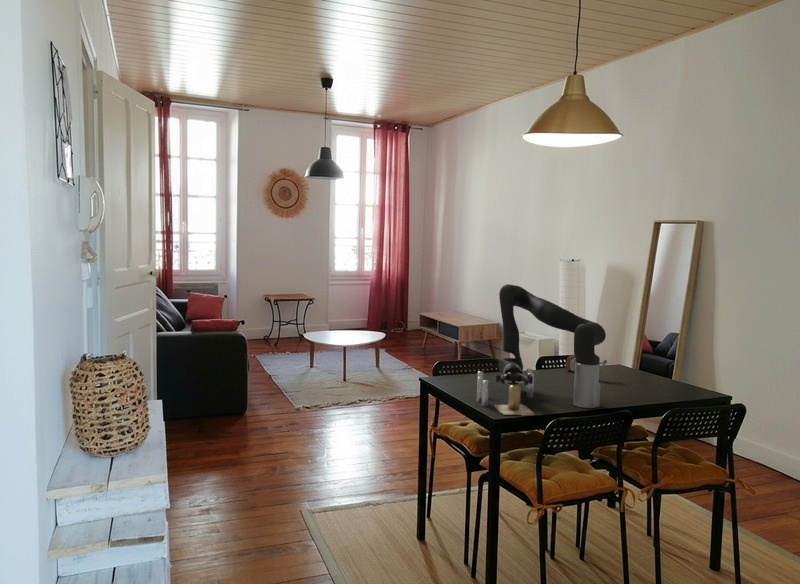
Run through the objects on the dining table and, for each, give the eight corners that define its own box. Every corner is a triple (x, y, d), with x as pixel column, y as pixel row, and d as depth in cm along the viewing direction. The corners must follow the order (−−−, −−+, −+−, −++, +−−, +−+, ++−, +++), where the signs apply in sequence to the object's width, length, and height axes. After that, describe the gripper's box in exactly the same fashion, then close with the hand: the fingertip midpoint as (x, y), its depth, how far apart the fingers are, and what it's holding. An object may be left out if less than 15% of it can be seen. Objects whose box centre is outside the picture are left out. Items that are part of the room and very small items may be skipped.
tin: (584, 368, 317) (585, 353, 316) (589, 370, 314) (590, 354, 314) (564, 371, 309) (565, 355, 308) (569, 372, 306) (569, 356, 306)
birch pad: (523, 406, 240) (523, 404, 239) (534, 415, 228) (534, 413, 228) (494, 406, 238) (494, 404, 238) (503, 415, 226) (503, 413, 226)
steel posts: (530, 391, 265) (531, 368, 264) (550, 406, 242) (551, 381, 241) (467, 391, 261) (468, 368, 260) (481, 406, 238) (482, 381, 237)
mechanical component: (605, 381, 290) (607, 360, 289) (583, 379, 292) (584, 358, 291) (605, 379, 292) (606, 359, 292) (582, 378, 294) (584, 357, 294)
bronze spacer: (517, 407, 235) (518, 384, 235) (521, 410, 231) (522, 387, 230) (506, 407, 235) (507, 384, 234) (509, 410, 230) (511, 387, 230)
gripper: (495, 363, 252) (496, 371, 236) (530, 365, 251) (534, 373, 235) (495, 381, 253) (496, 390, 237) (529, 383, 251) (533, 392, 235)
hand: (514, 382), depth 236 cm, fingers open, 8 cm apart
